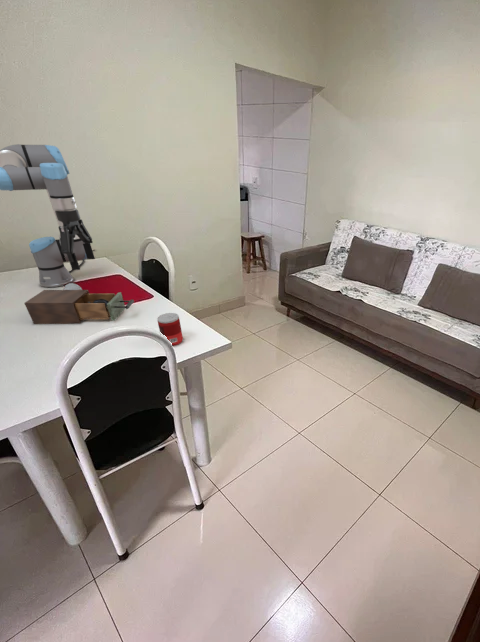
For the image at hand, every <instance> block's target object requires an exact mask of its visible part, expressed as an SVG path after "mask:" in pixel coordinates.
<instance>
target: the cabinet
mask: <svg viewBox="0 0 480 642" xmlns="http://www.w3.org/2000/svg"><path fill="white" fill-rule="evenodd" d="M85 294H91V293H90V290H89V289H82V290H63V289H43V290H42V291H40V292H39V293H37V294H36V295H34V296H32V297H31V298H29V299H28V300H26V301H25V302H24V306H25V308H26V310H27V312H28V314H29V317H30V319H31V321H32V323H33V325H62V324H63V325H75V324H76V325H78V324H79V325H80V324H82V323H83V322H84V321H85V320H86V319H80V318H79V315H78V313H77V310H76V307H75V305H74V304H75V303H76V302H77V301H78V300H80V299H81V298H82V297H83V296H84V295H85Z"/></svg>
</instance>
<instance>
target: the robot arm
mask: <svg viewBox="0 0 480 642" xmlns="http://www.w3.org/2000/svg"><path fill="white" fill-rule="evenodd" d="M69 174H70V171H69V168H68V166H67V164H66V160H65V158H64V156H63V154H62V152H61V150H60V148H58V147H57V146H56V145H50V144H19V143H18V144H10V145H8V146H5V147H3V148H1V149H0V191H9V192H12V191H13V192H14V191H31V190H34V191H37V190H39V191H40V190H41V191H42V190H46V193H47V196H48V199H49V202H50V206H51V208H52V211H53V213H54V216H55V219H56V222H57V225H58V231H59V235H58V237H59V238H58V239H56V238H55V237H54V236H43V237H39V238H35V239H33V240H31V241H30V242H29V244H28V247H29V250H30V253H31V254H32V257H33V259H34V262H35V265H36V266H37V269H38V282H39V285H40V286H41V287H43V288H59V287H65V285H67V284H69V283H74V277H73V275H72V274H71V273H72V272H73V271H80V270H81V266H82V265H84V263H85V260H95V259H96V257H95V255H94V254H95V253H94V252H93V251H95V250H96V249H94V250H92V249H93V248H92V245H91V244H93V238H92V236H91V235H90V232H89V231H88V229H87V228H86V225H84V222H83V219H81V215H80V212H79V210H78V206H77V201H76V199H75V197H74V193H73V191H72V186H71V184H70V181H69V177H68V175H69ZM79 261H81V263H80V264H79ZM64 263H69V265H70V268H71V269H70V270H69V271H68V269H67V268H66V265H65V264H64Z"/></svg>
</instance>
